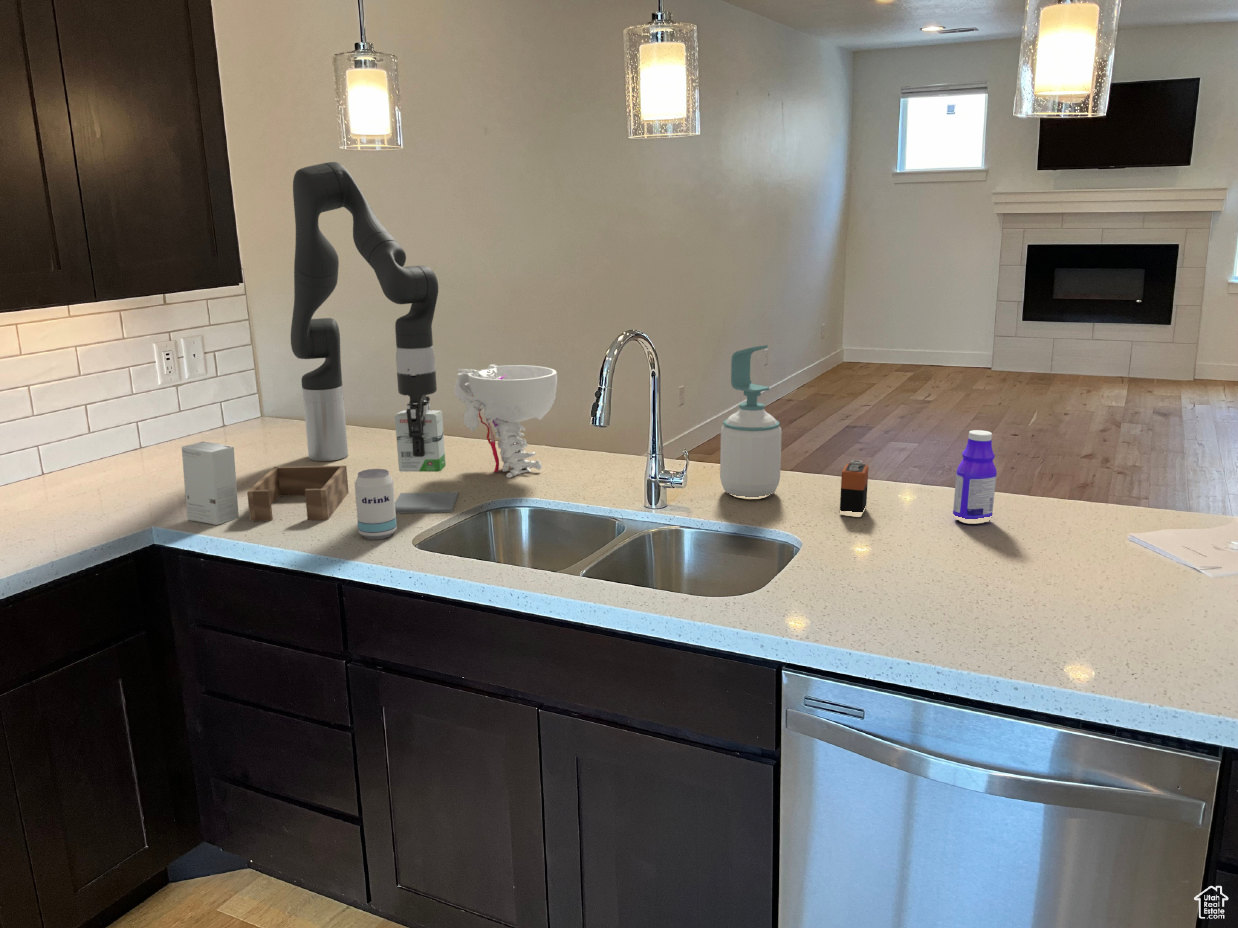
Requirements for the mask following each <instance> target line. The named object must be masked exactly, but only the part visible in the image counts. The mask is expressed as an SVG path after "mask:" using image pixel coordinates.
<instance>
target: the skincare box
mask: <svg viewBox="0 0 1238 928" xmlns="http://www.w3.org/2000/svg"><path fill="white" fill-rule="evenodd" d="M181 454H182V455H181V457H182V469H183V480H184V482H183V483H184V493H185V495H184V496H185V506H186V508H185V509H186V518H187V521H191V522H198V523H205V524H210V525H215V526H219V525H221V524H225V523H227V522H230V521H232V520H235V519H238V518H239V504H238V503H239V502H238V489H237V488H238V487H237V473H236V461H235V460H236V459H235V457H236V456H235V448H234V446H233V445H232V446H231V445H227V444H222V443H218V442H209V441H200V442H195V443H193V444H191V443H190V444H187V445H183V446H181Z"/></svg>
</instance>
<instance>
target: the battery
mask: <svg viewBox="0 0 1238 928" xmlns="http://www.w3.org/2000/svg"><path fill="white" fill-rule="evenodd" d="M840 476H841V480H840V497H839V511H840V510H841V511H852V512H863V510H864V508H865V506H866V507H867V498H868V497H867V496H868V483H869V464H864V463H863V461H862V460H860V459H852V460H851V461H850V462H848V463H846V464H845V466H844V468H843V469H842V471H841V475H840Z"/></svg>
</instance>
